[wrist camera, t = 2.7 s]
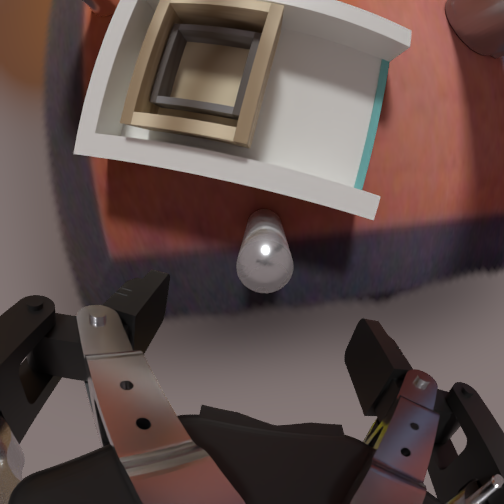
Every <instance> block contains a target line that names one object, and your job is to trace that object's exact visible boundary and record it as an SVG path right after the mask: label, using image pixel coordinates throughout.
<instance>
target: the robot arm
mask: <svg viewBox="0 0 504 504" xmlns="http://www.w3.org/2000/svg"><path fill="white" fill-rule="evenodd" d="M445 10H446V15H447V18H448V20H449V22H450V24H451V26H452V28H453V29H454V31H455V32H456V34H457V35H458V36H459V37H460V39H461V40H462V41H463V42H464V43H465V44H466V45H467V46H469V47H470V48H471V49H472V50H474V51H475V52H477V53H479V54H482V55H491V56H493V57H494V58H499V57H502V56H504V0H447V2H446V4H445ZM169 282H170V275H169V274H167V273H163V272H159V271H155V270H151V271H150V272H149V273H148V274H147V275H146V276H145V277H144V278H143V279H140V278H134V279H132V280H129V281H127V282H126V283H125V284H124V285H123V286H121V288H119V289H118V290H117V291H116V293H114V294H113V295H112V296H111V297H110V298H109V299H108V300H107V301H106V302H105V303H104V304H103V305H90V306H86V307H84V308H82V309H80V310H79V311H78V313H77V316H71V315H64V314H58V313H55V305H54V302H53V301H52V300H50V299H49V298H47V297H44V296H39V295H33V296H28V297H25V298H23V299H21V300H20V301H18V302H17V303H16V304H15V305H13V306H12V307H11V308H10V309H8V310H7V311H6V312H5V313H3V314H2V315H1V316H0V504H504V433H503V431H502V429H501V428H500V427H499V425H498V423H497V422H496V420H495V418H494V417H493V415H492V414H491V412H490V411H489V409H488V408H487V406H486V405H485V403H484V402H483V400H482V399H481V397H480V396H479V394H478V393H477V392H476V391H475V390H474V389H473V388H472V387H471V386H469V385H467V384H465V383H462V382H457V383H455V384H454V385H453V387H452V388H451V390H450V391H449V392H447V391H443V390H439V389H437V383H436V381H435V380H434V379H433V378H432V377H431V376H430V375H428V374H427V373H425V372H423V371H420V370H413V369H412V367H411V365H410V364H409V362H408V361H407V359H406V358H405V356H404V355H402V354H403V353H402V352H401V350H400V349H399V347H398V346H397V344H396V343H395V341H394V340H393V339H392V338H390V337H389V336H388V335H387V333H386V332H385V330H384V329H383V327H382V326H381V324H380V323H379V322H378V321H373V320H368V319H361V320H360V321H359V323H358V324H357V326H356V329H355V331H354V333H353V335H352V338H351V340H350V342H349V344H348V346H347V349H346V351H345V364H346V366H347V369H348V372H349V374H350V377H351V380H352V383H353V385H354V388H355V391H356V393H357V396H358V399H359V402H360V405H361V407H362V410H363V413H364V415H365V416H377V417H378V418H377V419H376V420H375V422H374V423H373V425H372V427H371V429H370V430H369V432H368V434H367V435H366V437H365V439H364V441H363V442H361V441H360V440H358V439H355V438H353V437H350V436H347V435H344V432H343V428H342V425H335V424H321V423H302V424H292V425H280V426H276V425H271V424H269V423H265V422H262V421H259V420H257V419H254V418H251V417H249V416H246V415H243V414H240V413H238V412H233V411H227V410H223V409H218V408H213V407H209V406H205V405H202V406H201V410H200V415H180V416H177V415H176V414H175V412H174V410H173V408H172V407H171V405H170V403H169V401H168V400H167V398H166V396H165V394H164V392H163V391H162V389H161V387H160V385H159V383H158V381H157V379H156V378H155V376H154V374H153V372H152V370H151V368H150V366H149V364H148V362H147V360H146V358H145V356H144V353H145V351H146V350H147V348H148V346H149V344H150V343H151V341H152V339H153V338H154V336H155V334H156V332H157V330H158V329H159V327H160V325H161V324H162V322H163V319H164V316H165V311H166V304H167V297H168V289H169ZM26 356H27V358H26V359H25V360H24V361H23V359H24V358H25V357H26ZM22 361H23V362H22ZM21 362H22V363H21ZM20 364H21V365H20ZM62 377H64V378H70V379H76V380H83V381H84V386H85V390H86V394H87V398H88V401H89V405H90V408H91V412H92V415H93V418H94V422H95V425H96V429H97V433H98V436H99V439H100V443H101V446H102V448H99V449H97V450H95V451H92V452H90V453H87V454H85V455H82V456H80V457H78V458H75V459H72V460H70V461H67V462H65V463H62V464H59V465H56V466H53V467H50V468H47V469H45V470H42V471H38V472H36V473H33V474H31V475H29V476H27V477H25V478H24V479H23V480H22V469H23V466H24V453H23V451H22V449H21V447H20V445H19V444H20V442H21V440H22V439H23V437H24V435H25V434H26V432H27V431H28V429H29V427H30V426H31V424H32V422H33V421H34V419H35V418H36V416H37V414H38V413H39V411H40V410H41V408H42V407H43V405H44V403H45V402H46V400H47V399H48V397H49V396H50V394H51V393H52V391H53V390H54V388H55V387H56V385H57V384H58V382H59V381H60V379H61V378H62ZM460 426H461V427H462V429H463V431H464V433H465V435H466V437H467V445H466V448H465V449H464V450H463V452H462V453H461V454H460V455H459V456H458V454H457V452H456V450H455V448H454V446H453V444H452V441H451V440H450V438H451V437H452V435H453V434H454V433H455V432H456V431H457V429H458V428H459V427H460ZM427 469H428V472H429V475H430V478H431V481H432V484H433V486H434V489H435V492H436V495H437V498H435V497H434V496H433V495H431V494H430V493H429V492H427V491H426V486H425V485H424V483H423V482H424V478H425V475H426V471H427Z"/></svg>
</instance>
